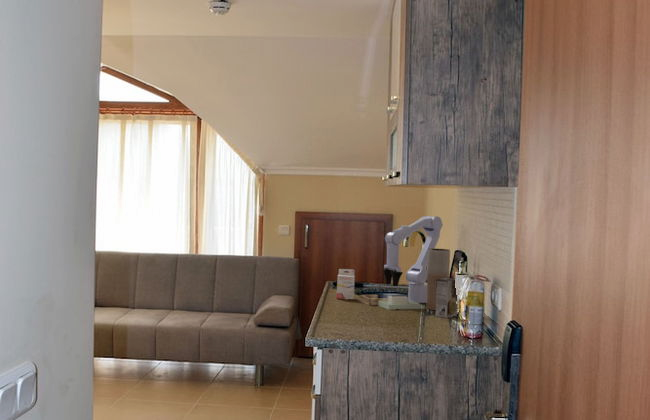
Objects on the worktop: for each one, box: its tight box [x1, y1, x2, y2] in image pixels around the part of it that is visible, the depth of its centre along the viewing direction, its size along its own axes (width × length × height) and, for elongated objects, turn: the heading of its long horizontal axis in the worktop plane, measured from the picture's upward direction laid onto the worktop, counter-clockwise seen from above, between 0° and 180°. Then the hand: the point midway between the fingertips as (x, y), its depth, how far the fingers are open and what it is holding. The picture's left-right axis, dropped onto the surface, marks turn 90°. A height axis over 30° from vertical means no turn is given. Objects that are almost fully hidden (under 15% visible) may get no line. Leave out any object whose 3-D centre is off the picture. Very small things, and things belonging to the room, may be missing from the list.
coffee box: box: [434, 277, 457, 319], centre depth 274 cm, size 9×6×16 cm
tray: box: [377, 300, 422, 311], centre depth 294 cm, size 16×12×2 cm
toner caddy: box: [387, 294, 408, 304], centre depth 294 cm, size 8×5×5 cm, turn 109°
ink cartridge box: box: [336, 268, 356, 300], centre depth 316 cm, size 9×5×15 cm, turn 84°
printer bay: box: [358, 294, 388, 306], centre depth 305 cm, size 10×13×3 cm
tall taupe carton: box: [425, 248, 451, 311], centre depth 292 cm, size 10×10×28 cm
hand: (391, 285), depth 305 cm, fingers open, 7 cm apart
